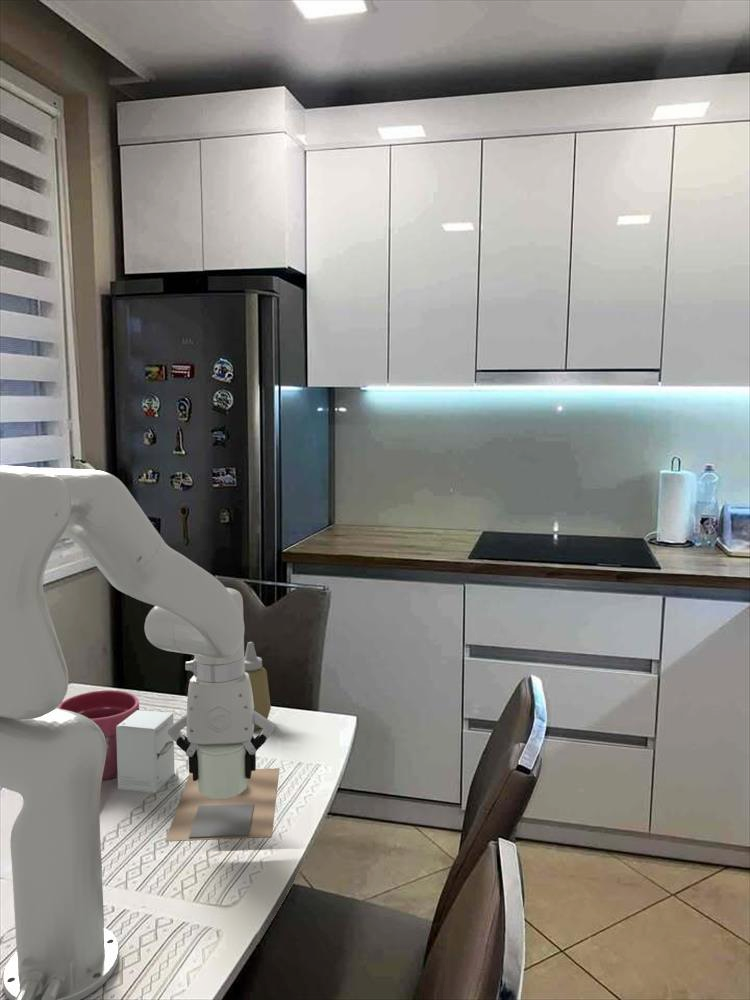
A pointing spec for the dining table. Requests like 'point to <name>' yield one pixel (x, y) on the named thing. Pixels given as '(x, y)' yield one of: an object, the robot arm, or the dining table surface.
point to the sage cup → (221, 770)
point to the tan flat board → (227, 811)
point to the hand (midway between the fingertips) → (222, 775)
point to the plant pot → (105, 718)
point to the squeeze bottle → (257, 682)
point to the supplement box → (145, 751)
